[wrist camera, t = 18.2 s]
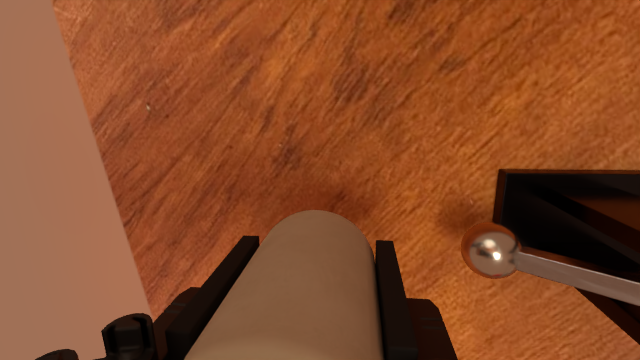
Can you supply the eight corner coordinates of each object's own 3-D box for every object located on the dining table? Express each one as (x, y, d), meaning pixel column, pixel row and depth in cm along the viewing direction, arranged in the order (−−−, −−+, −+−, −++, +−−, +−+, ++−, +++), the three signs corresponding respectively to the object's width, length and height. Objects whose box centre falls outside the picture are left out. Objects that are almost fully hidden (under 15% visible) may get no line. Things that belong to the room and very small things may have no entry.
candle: (239, 245, 16) (53, 477, 6) (331, 185, 14) (276, 362, 5) (305, 328, 17) (230, 650, 7) (397, 278, 15) (464, 591, 6)
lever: (468, 256, 21) (450, 276, 19) (473, 210, 20) (455, 225, 18) (770, 345, 13) (803, 398, 11) (798, 276, 12) (839, 318, 10)
